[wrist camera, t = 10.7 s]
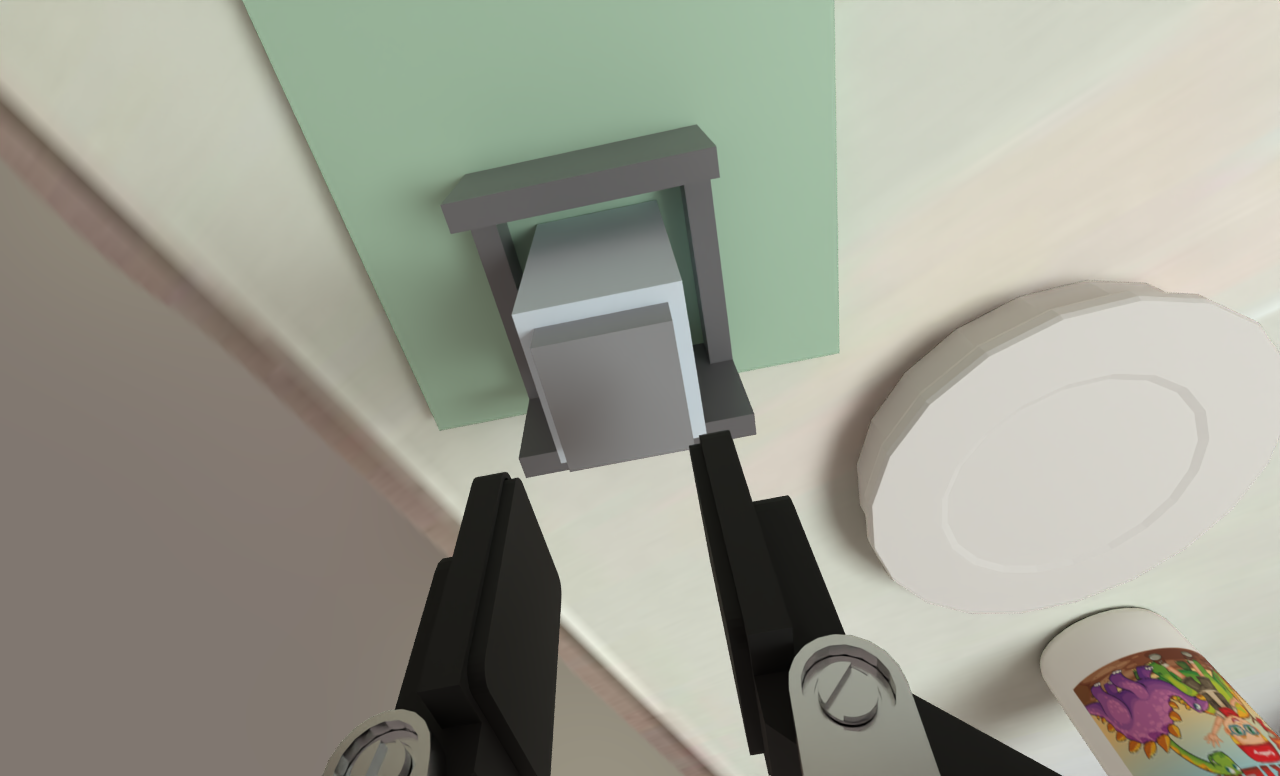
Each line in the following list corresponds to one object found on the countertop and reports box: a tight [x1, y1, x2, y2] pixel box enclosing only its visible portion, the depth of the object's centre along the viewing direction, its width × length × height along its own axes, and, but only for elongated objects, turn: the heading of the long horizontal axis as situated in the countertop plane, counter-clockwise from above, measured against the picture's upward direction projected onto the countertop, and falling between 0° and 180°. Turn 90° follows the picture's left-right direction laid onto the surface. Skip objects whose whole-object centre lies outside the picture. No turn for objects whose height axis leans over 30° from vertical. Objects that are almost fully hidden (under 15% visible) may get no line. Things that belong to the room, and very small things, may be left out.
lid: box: [857, 280, 1280, 614], centre depth 28 cm, size 17×20×3 cm
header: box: [440, 124, 756, 478], centre depth 19 cm, size 8×7×5 cm
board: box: [242, 0, 839, 431], centre depth 19 cm, size 20×16×1 cm
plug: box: [512, 200, 707, 472], centre depth 18 cm, size 5×4×8 cm
